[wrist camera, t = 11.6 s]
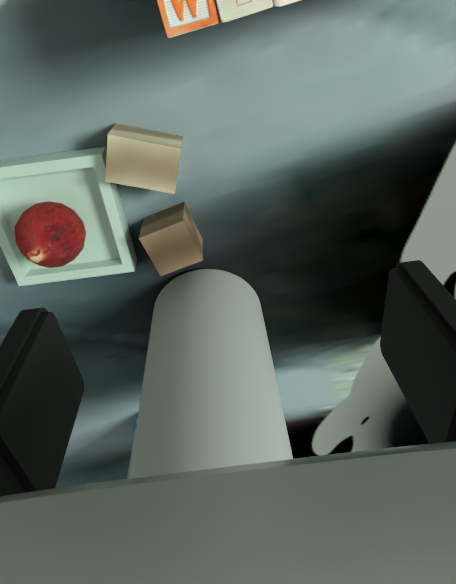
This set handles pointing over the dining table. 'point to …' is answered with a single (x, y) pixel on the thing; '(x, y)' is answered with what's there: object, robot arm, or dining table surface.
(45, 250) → the red round fruit
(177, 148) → the beech block
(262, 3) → the stack of blocks
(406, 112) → the dining table surface
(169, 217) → the walnut block
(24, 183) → the dish
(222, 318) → the cylinder vase
